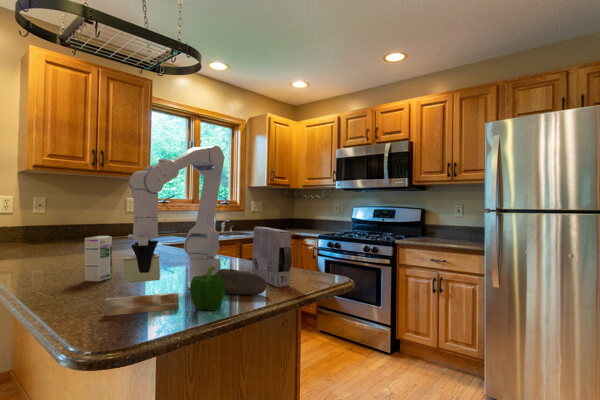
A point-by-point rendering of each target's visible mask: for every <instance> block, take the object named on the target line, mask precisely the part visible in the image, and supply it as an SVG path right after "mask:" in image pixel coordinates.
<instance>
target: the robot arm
mask: <svg viewBox="0 0 600 400" xmlns="http://www.w3.org/2000/svg"><path fill="white" fill-rule="evenodd" d="M225 157H226V156H225V155H224V153H223V150H222V148H221V147H220V146H219V145H211V146H209V145H208V146H201V147H200V146H193V147H191V148H188V149H187V150H186V151H185V152H183V153H181V154H180V155H178V156H176V157H175V158H173V159H169V158H166V157H165V158H163V157H162V158H160V159H158V162H156V163H155V164H153V165H148V166H146V167H145V169H144V170H138V171H134V172H133V173H132V174H131V175H130V178H129V180H128V181H127V185H128V188H129V191H131V197H132V199H133V201H132V202H133V205H132V206H133V212H132V213H133V214H132V215H133V218H132V221H133V225H132V228H133V229H132V231H133V232H132V233H133V234H128V235H127V238H128V239H134V240H137V241H135V242H134V244H131V248H132V251H133V252H134V256H136V258H137V263H138V268H139V272H140V273H149V270H150V266H151V260H152V256H153V254H155V253H154V252H155V250H156V248H157V246H158V243H159V240H153V239H158V238H159V233H158V231H159V227H158V226H159V225H158V223H159V220H158V219H159V193H160V192H161V191H162V190H163V188H164V185H165V184H168V183H170V182H171V181H172V180H174V179H176V178H177V177H178V176H179V174H180V171H181V170H183V169H185V168H186V167H189V166H192V167H193V168H194V169H195V171H196V172H197V173H198V174H199V175H200V176H202V177H203V182H202V187H201V192H200V193H201V194H200V199H199V205H198V209H197V215H196V216H197V217H196V220H195V221H196V222H195V225H194V226H193V227H192V228H191V229H189V230H188V231H187V236H186V238H185V240H184V242H183V250H184V252H185V253H186V255H187V258H189V281H187V287H188V288H187V289H188V290H191V281H192V279H193V277H195V276H203V275H205V274H207V271H208V269H209V268H210V267H211V266H213V267H215V269H214V270H212V271H211V275H212V276H213V275H215V274H216V273H217V272H218V271H219V270H220V269H222V268H221V257H220V256H216V255H217V254H218V252H219V250H220V240H219V237H220V233H219V232H218V231H217V230H216V229H215V228H214V223H215V217H216V211H217V204H218V199H219V193H220V186H221V181H222V173H223V169H224V163H225Z"/></svg>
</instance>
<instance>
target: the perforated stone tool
mask: <svg viewBox="0 0 600 400" xmlns="http://www.w3.org/2000/svg"><path fill="white" fill-rule="evenodd" d="M216 274H219V275H220V276H221V277H223V278H224V281H225V291H224V294H227V295H228V294H229V295H240V296H257V295H261V294H263V293H264V292H265V291H266V290H267V286H268V285H267V283H266V282H265V280H264V279H263V278H262V277H261V276H259V275H257V274H255V273H252V271H246V270H241V269H239V270H238V269H232V268H231V269H230V268H221V269H220V270H219V271H218V272H217V273H216Z"/></svg>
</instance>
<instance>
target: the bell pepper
mask: <svg viewBox="0 0 600 400" xmlns="http://www.w3.org/2000/svg"><path fill="white" fill-rule="evenodd" d="M214 269H215V267H213V266H211V267H210V268H209V269H208V271H207V274H205V275H203V276H195V277H193V279H192V281H191V289H190V295H191V299H192V303H193V304H192V305H193V306H194V308H195V309H196V310H198V311H206V310H207V311H214V310H218V309H220V307H221V306H222V303H223V300H224V295H225V293H224V291H225V281H224V278H223V277H221V276H220V275H219V274H215V275H213V276H212V275H211V271H212V270H214Z"/></svg>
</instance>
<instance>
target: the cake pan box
mask: <svg viewBox="0 0 600 400" xmlns="http://www.w3.org/2000/svg"><path fill="white" fill-rule="evenodd" d="M252 246H253V247H252V265H251V269H252V270H251V272H252V273H255V274H257V275H259V276H261V277H262V278H263V279H264V280H265V282H266V284H268V285H269V284H270V285H271V286H274V287H275V288H279V289H280V288H284V287H289V286H290V275H291V274H290V273H291V272H290V271H291V267H292V262H293V260H292V259H293V256H292V255H293V254H292V232H291V231H290V230H289V231H288V230H282V229H278V228H272V227H266V226H254V227H253V242H252Z"/></svg>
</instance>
